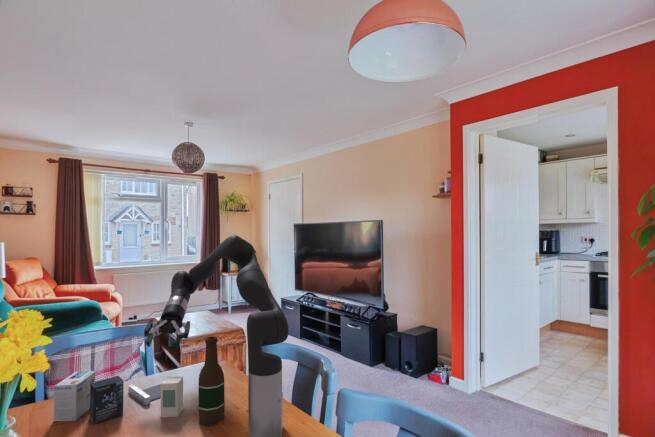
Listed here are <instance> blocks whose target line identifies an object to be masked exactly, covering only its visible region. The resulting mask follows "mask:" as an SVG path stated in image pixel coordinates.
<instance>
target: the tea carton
mask: <svg viewBox="0 0 655 437" xmlns="http://www.w3.org/2000/svg"><path fill="white" fill-rule="evenodd" d="M160 384H161V398H160V418H175V417H176V418H177V417H179V416H180V414H181V413H182V411H183V410H184V376H183V375H182V376H166V377H164V380H162V381H161V382H160Z"/></svg>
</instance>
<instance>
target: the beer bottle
mask: <svg viewBox="0 0 655 437" xmlns="http://www.w3.org/2000/svg"><path fill="white" fill-rule="evenodd" d="M204 340H205V341H204V343H205V354H204V356H205V357H204V358H205V359H204V364H203V367H202V368H201V369H200V371H199V374H198V423H199V424H200V425H202V426H206V427H208V426H209V427H210V426H215V425H218V424H219V423H220V422H222V421H224V419H225V409H226V408H225V374H224V371H223V368H222V366H221V365H220V363H219V360H218V359H219V358H218V342H219V340H218V338H217V336H208V337H205V339H204Z"/></svg>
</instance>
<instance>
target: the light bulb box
mask: <svg viewBox="0 0 655 437" xmlns="http://www.w3.org/2000/svg"><path fill="white" fill-rule="evenodd" d="M91 382H96V371H94V370H90V371H89V370H88V371H74V372H73V373H71V374H70V375H68V376H67V377H65V378H63V380H61V381H60V382H58V383H56V384H55V385H53V421H54V420H59V422H76V421H77V420H78V419H80V417H82V416H83V415H85V413H87V412H88V411H90V383H91ZM60 420H61V421H60ZM64 420H65V421H64Z"/></svg>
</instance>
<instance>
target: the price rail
mask: <svg viewBox="0 0 655 437" xmlns="http://www.w3.org/2000/svg"><path fill="white" fill-rule="evenodd" d="M142 390H143V389H141V388H139V387H138V386H136V385H135V384H129V385H128V394H129V395H131V397H133V398H134V399H135V400H137V401H138V402H140V404H142V405H143V406H144V407H147V406H149V405H151V401H150V396H149V395H147V394H146V393H145V392H144V391H142Z"/></svg>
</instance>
